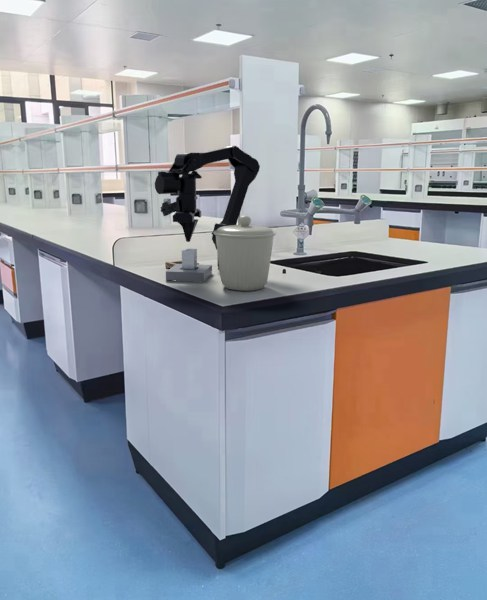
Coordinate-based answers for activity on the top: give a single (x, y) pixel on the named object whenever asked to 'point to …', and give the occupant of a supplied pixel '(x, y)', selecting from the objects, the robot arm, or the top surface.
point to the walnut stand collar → (173, 263)
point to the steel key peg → (189, 259)
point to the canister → (244, 255)
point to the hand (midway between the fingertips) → (188, 241)
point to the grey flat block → (189, 273)
